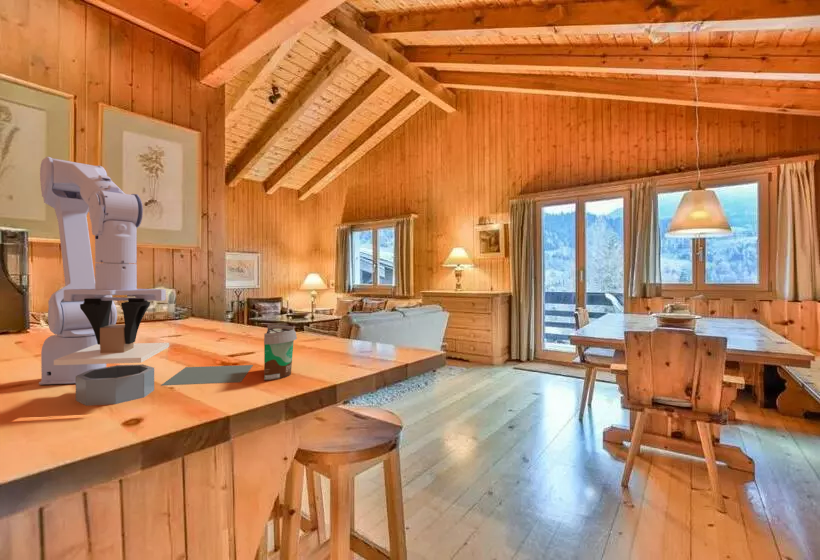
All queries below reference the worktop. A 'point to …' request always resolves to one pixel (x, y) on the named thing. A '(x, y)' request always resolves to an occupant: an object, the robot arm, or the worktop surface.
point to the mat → (209, 375)
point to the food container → (278, 352)
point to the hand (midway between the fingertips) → (116, 343)
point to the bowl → (114, 384)
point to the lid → (112, 349)
